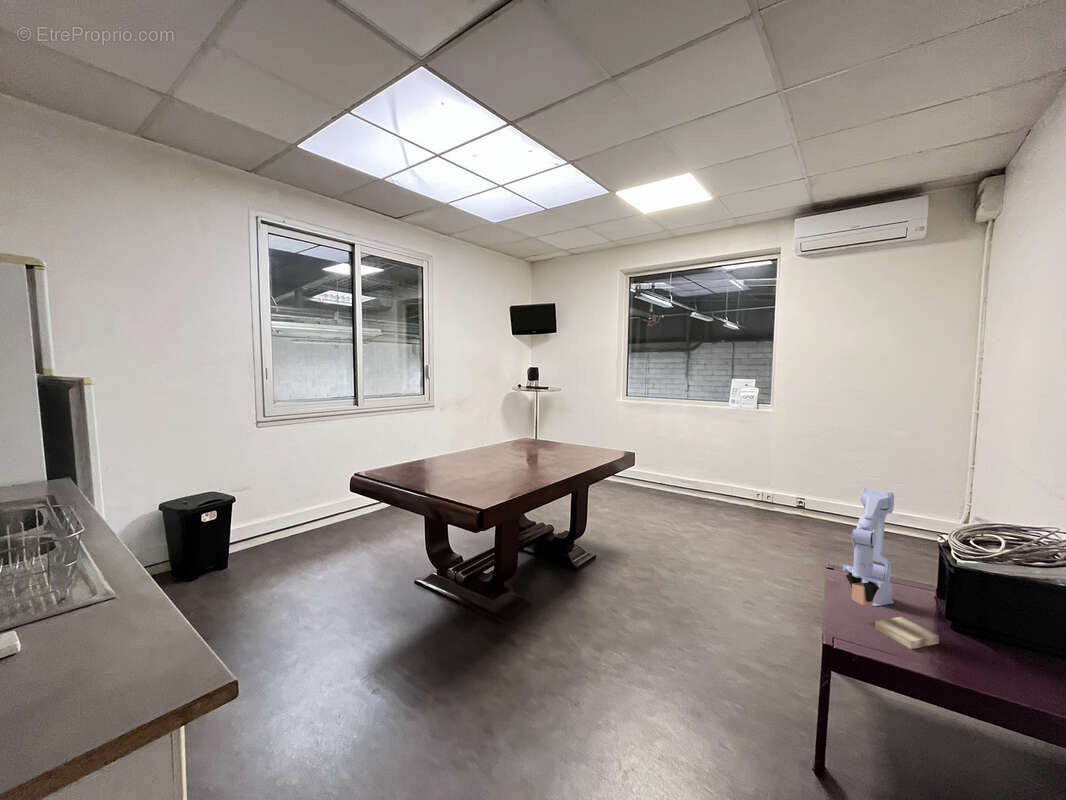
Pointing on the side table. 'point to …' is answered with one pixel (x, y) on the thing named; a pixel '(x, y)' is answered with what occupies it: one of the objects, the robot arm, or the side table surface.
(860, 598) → the terracotta block
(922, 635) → the birch base
